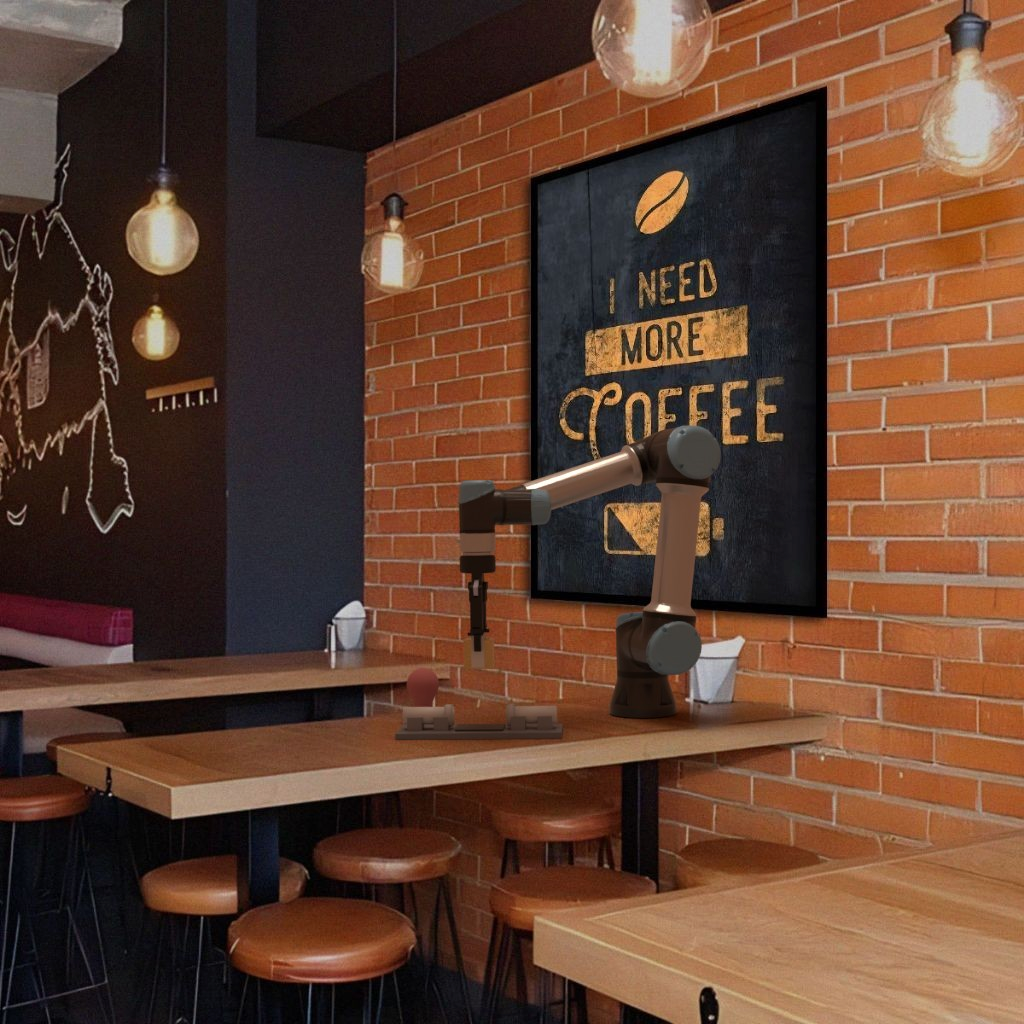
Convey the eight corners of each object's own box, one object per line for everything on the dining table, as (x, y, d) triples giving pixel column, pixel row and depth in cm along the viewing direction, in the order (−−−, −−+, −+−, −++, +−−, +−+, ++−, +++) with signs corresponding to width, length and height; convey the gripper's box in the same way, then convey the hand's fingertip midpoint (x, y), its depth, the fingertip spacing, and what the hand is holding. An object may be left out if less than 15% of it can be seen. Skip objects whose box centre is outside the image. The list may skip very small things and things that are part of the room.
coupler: (465, 666, 281) (465, 637, 281) (494, 666, 280) (493, 637, 280) (463, 669, 276) (463, 640, 276) (492, 668, 275) (492, 639, 275)
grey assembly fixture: (562, 729, 283) (562, 699, 283) (561, 738, 271) (561, 707, 271) (403, 730, 285) (402, 700, 285) (395, 739, 273) (394, 708, 273)
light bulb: (441, 719, 299) (440, 666, 299) (436, 724, 292) (435, 669, 292) (410, 719, 299) (409, 666, 299) (404, 724, 292) (403, 670, 292)
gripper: (463, 553, 287) (465, 661, 287) (455, 555, 269) (457, 670, 269) (498, 552, 287) (499, 660, 287) (492, 555, 269) (494, 670, 269)
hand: (479, 665), depth 278 cm, fingers closed on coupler, 5 cm apart
